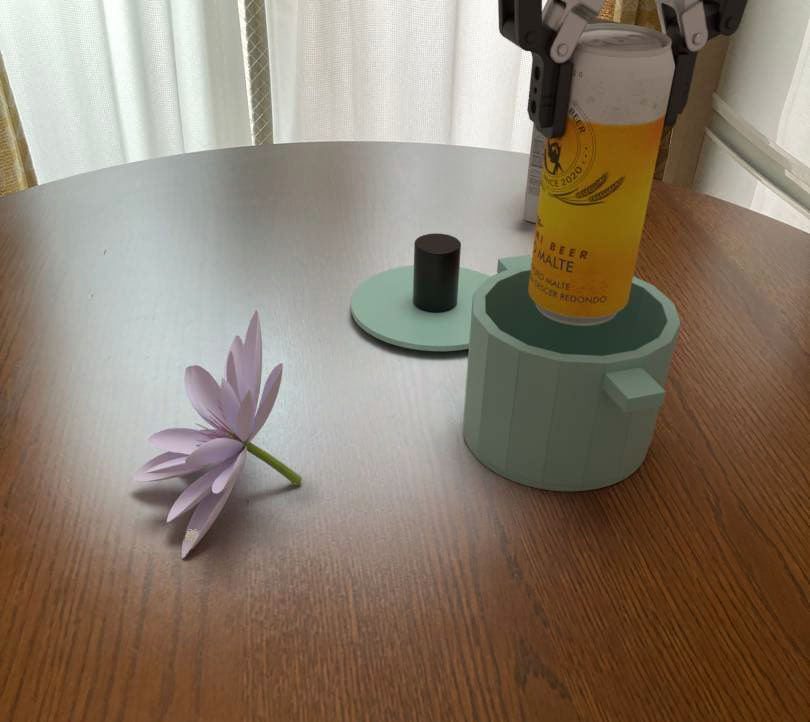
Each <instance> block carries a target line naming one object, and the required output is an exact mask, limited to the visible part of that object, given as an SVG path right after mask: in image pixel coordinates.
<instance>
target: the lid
mask: <svg viewBox="0 0 810 722" xmlns="http://www.w3.org/2000/svg"><path fill="white" fill-rule="evenodd" d="M413 245H414V247H413V264H412V265H405V266H399V267H395V268H391V269H390V268H389V269H387V270H383V271H381V272H379V273H375V274H373V275H372V276H370V277H368V278H366V279H365V280H363V282H361V283H359V285H358V286H357V287H356V288H355V289H354V291H353V292H352V294H351V299H350V311H351V315H352V318H353V319H354V321H355V322H356V324H357V325H358V326H359V327H360V329H362V330H363V331H365V332H366V333H368V334H369V335H370V336H372V337H374V338H376V339H377V340H379V341H383V342H385V343H388V344H391V345H395V346H397V347H401V348H405V349H410V350H417V351H427V352H455V351H463V350H469V338H470V325H471V312H472V299H473V294H474V292H475V291H476V290H477V289H478V288H479V287H480V286H481V285H482V284H483V283H484V282H485V280H486V279H487V278H489V277H491V276H492V275H488V274H486V273H483V272H480V271H477V270H474V269H470V268H466V267H461V266H460V265H461V253H462V251H461V250H462V243H461V241H460V240H459V239H458V238H457V237H455V236H453V235H451V234H445V233H436V232H435V233H427V234H423V235H420V236H419V237H417V238H416V239H415V240H414V243H413Z"/></svg>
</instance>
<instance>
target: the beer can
mask: <svg viewBox="0 0 810 722" xmlns="http://www.w3.org/2000/svg"><path fill="white" fill-rule="evenodd" d="M671 44H672V40H671V38H670V37H669V36H667V35H666V34H664V33H662V31H659V30H656V29H653V28H650V27H646V26H641V25H634V24H626V23H622V24H611V23H603V24H589V25H587V26H586V28H585V30H584V32H583V34H582V36H581V37H580V39H579V41H578V43H577V45H576V47H575V49H574V51H573V53H572V55H571V56H570V58H569V59H568V60H569V61H570V62H572V63H574V65H573V72H572V80H571V87H570V95H569V103H568V110H567V118H566V125H565V132H564V135H563V137H562V138H554V139H548V138H546V145H545V153H544V161H543V170H542V178H541V187H540V195H539V204H538V212H537V220H536V223H535V230H534V238H533V245H532V246H533V247H532V253H531V254H532V256H531V257H532V263H531V271H530V280H529V288H528V292H529V295H530V297H531V298H532V300H533V301H534V302H535V304H536V307H537V309H538V310H539V311H540V312H541V313H542V314H543V315H544V316H546V317H548V318H549V319H552V320H554V321H557V322H560V323H563V324H568V325H575V326H591V325H598V324H602V323H605V322H607V321H609V320H611V319H612V318H613V317H614V316H615V315H616V314H617V312H619V311H620V310H622V309H623V308H624V307H625V306H626V305H627V303H628V300H629V295H630V290H631V285H632V280H633V276H634V274H635V269H636V265H637V260H638V254H639V248H640V244H641V239H642V235H643V234H642V233H643V229H644V224H645V220H646V214H647V209H648V204H649V199H650V194H651V189H652V184H653V180H654V173H655V169H656V164H657V159H658V154H659V150H660V149H659V148H660V144H661V139H662V134H663V129H664V127H663V125H664V120H665V115H666V110H667V105H668V100H669V95H670V90H671V85H672V80H673V75H674V70H675V63H674V59H673V54H672V50H671Z"/></svg>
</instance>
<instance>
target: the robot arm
mask: <svg viewBox="0 0 810 722" xmlns="http://www.w3.org/2000/svg"><path fill="white" fill-rule="evenodd" d="M606 2H607V0H546V3H545V4H544V6H543V0H497V13H498V14H497V15H498V31H499V34H500V35H501V36H502V37H503V38H505V39H506V40H507V41H509V42H510V43H512V44H514V45H515V46H517V47H518V48H519V49H521V50H523V51H524V52H530V54H531V59H532V61H531V70H530V80H529V90H528V99H527V109H526V110H527V114H528V119H529V120H530V121H531V122H532V123H533V122H534V123H535V127H536V129H537V131H539V132H540V133H541V134H542V135H544V136H545V137H546V138H548V139H554V138H562V137H563V135H564V132H565V125H566V118H567V110H568V103H569V95H570V87H571V80H572V72H573V65H574V63H572V62H570V61H569V60H568V59H569V58H570V56H571V55H572V53H573V51H574V49H575V47H576V45H577V43H578V41H579V39H580V37H581V36H582V34H583V32H584V30H585V28H586V26H587V24H588V22H589V21H590V20H591V19H593V18H597V17H598V16H599V14H600V13H601V11H602V9H603V8H604V6H605V4H606ZM654 2H655V5H656V9H657V14H658V19H659V23H660V29H661V32H662V33H664V34H666V35H667V36H669V37H670V38H671V40H672V44H671V50H672V54H673V59H674V63H675V70H674V75H673V80H672V85H671V90H670V95H669V100H668V105H667V110H666V115H665V120H664V125H663V128H668V127H673V126H675V125H676V123H677V120H678V116H679V115H682V114H683V112H684V110H685V108H686V106H687V104H688V99H689V94H690V90H691V84H692V81H693V76H694V72H695V68H696V67H695V66H696V62H697V58H698V54H699V52H700V50H702V49H703V48H704V47H705V45H706V43H707V42H709V41H711V40H713V39H714V38H717V37H718V36H720V35H722V36H724V37H729V36H732V35H734V34H735V33H736V32H737V30H739V27H740V25H741V22H742V19H743V16H744V13H745V10H746V7H747V4H748V2H749V0H654Z"/></svg>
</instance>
